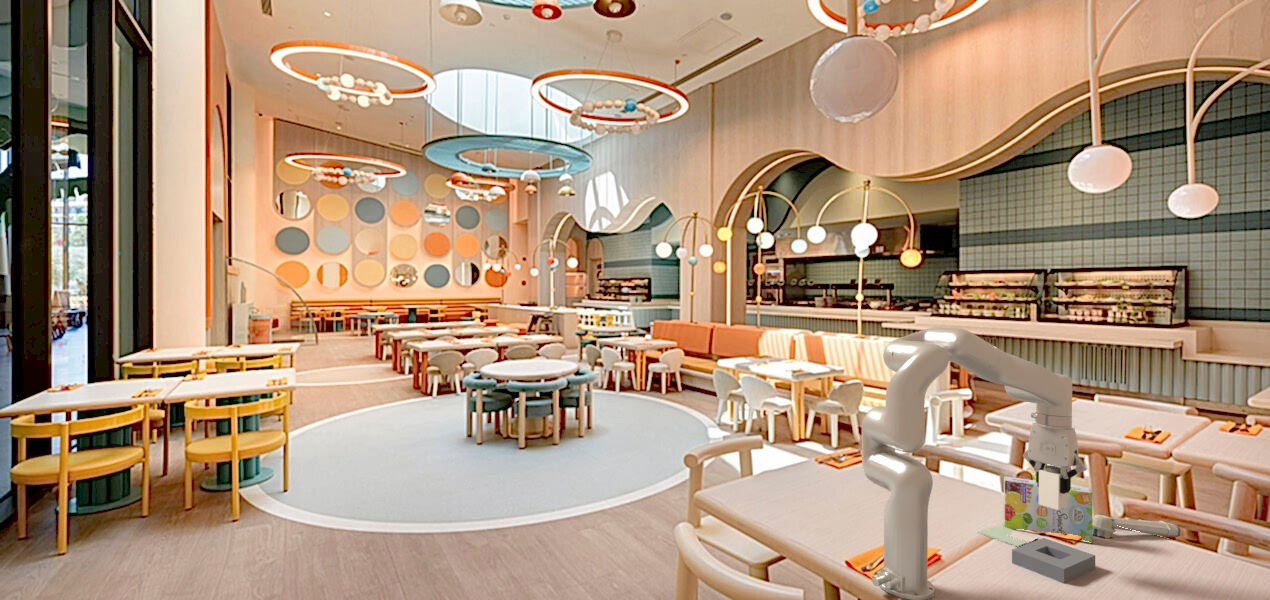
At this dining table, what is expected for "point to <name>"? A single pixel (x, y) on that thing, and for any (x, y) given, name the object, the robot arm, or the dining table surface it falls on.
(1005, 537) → the mat
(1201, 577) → the dining table surface
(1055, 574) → the grey rectangular frame block
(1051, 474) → the plug
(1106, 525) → the hair straightener
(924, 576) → the robot arm
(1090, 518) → the snack box
